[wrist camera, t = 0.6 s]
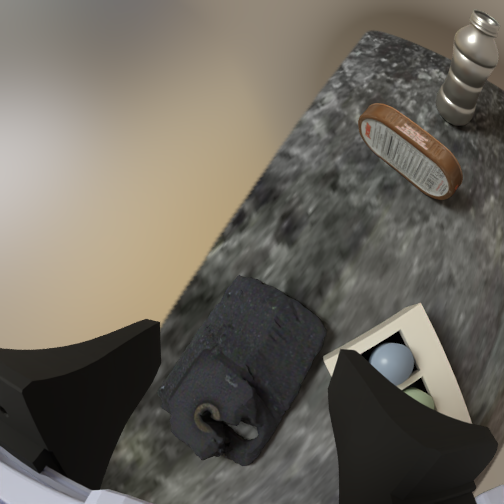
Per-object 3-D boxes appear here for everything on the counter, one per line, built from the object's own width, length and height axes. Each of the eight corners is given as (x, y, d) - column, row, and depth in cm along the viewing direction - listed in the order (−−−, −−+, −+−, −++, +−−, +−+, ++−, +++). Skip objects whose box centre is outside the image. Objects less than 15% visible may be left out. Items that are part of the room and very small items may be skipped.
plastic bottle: (450, 135, 34) (493, 34, 15) (424, 103, 36) (451, 2, 17) (475, 126, 33) (519, 36, 14) (450, 96, 35) (480, 4, 16)
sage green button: (430, 409, 23) (439, 415, 20) (397, 430, 23) (404, 438, 20) (417, 379, 24) (426, 384, 21) (383, 400, 24) (389, 407, 22)
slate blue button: (411, 367, 25) (420, 371, 22) (378, 388, 25) (383, 394, 22) (395, 334, 26) (403, 335, 23) (361, 355, 26) (365, 358, 24)
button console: (458, 427, 24) (477, 439, 19) (382, 473, 25) (390, 494, 20) (405, 307, 30) (420, 302, 25) (323, 356, 31) (323, 361, 26)
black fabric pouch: (348, 333, 31) (353, 334, 27) (242, 471, 29) (232, 487, 25) (240, 265, 36) (229, 256, 32) (151, 400, 34) (131, 407, 30)
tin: (449, 197, 32) (474, 166, 24) (438, 213, 32) (464, 183, 24) (365, 130, 37) (370, 89, 29) (352, 142, 37) (356, 101, 29)
